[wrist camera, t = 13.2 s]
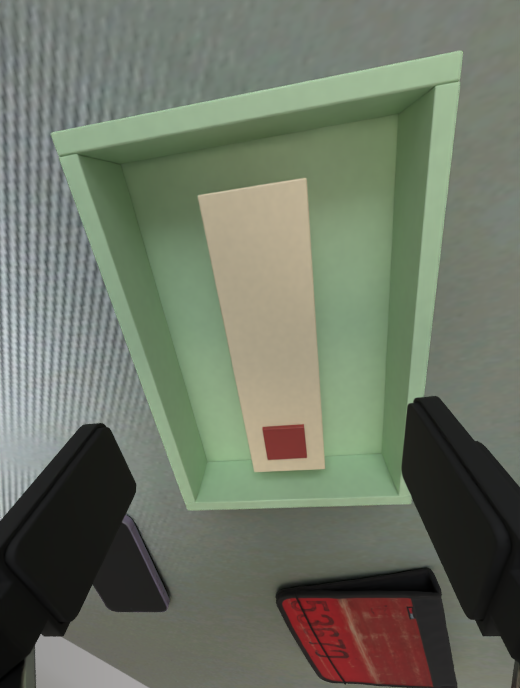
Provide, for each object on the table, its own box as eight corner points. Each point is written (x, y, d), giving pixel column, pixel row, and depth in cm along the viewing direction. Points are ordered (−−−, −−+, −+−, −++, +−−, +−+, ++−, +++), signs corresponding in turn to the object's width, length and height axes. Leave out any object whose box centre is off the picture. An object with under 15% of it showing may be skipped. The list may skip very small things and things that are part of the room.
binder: (443, 596, 25) (461, 692, 34) (432, 566, 27) (451, 663, 36) (268, 604, 29) (322, 688, 37) (270, 577, 31) (320, 662, 40)
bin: (107, 149, 15) (48, 132, 11) (413, 92, 13) (465, 48, 9) (202, 463, 24) (187, 511, 20) (389, 454, 22) (411, 504, 18)
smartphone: (126, 520, 26) (170, 612, 32) (132, 508, 28) (174, 600, 33) (53, 522, 27) (109, 612, 33) (61, 511, 28) (114, 600, 34)
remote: (212, 196, 15) (195, 194, 12) (302, 182, 14) (307, 176, 11) (257, 439, 22) (253, 476, 19) (319, 435, 21) (326, 473, 18)
